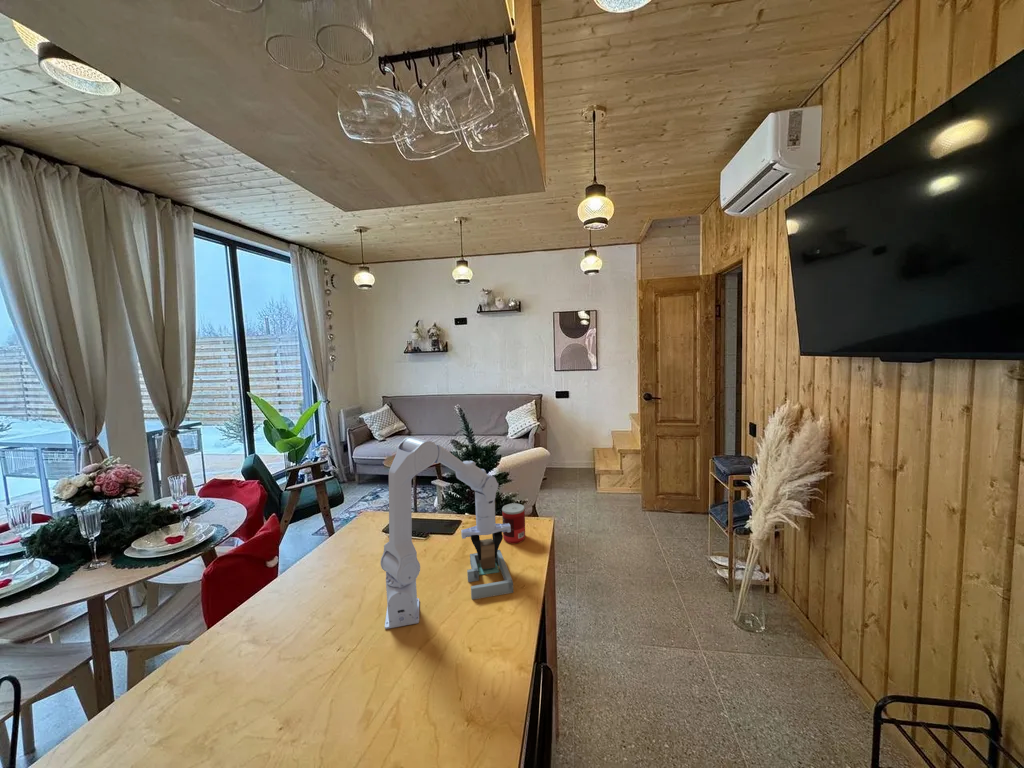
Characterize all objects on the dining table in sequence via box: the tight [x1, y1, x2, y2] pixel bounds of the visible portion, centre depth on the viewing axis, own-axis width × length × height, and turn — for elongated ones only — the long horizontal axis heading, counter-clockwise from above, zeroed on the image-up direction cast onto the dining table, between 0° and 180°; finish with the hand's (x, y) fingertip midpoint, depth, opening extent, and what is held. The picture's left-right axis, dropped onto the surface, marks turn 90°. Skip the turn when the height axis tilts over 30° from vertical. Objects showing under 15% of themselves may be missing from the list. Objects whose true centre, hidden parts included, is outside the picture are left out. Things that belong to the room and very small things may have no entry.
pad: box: [477, 561, 500, 576], centre depth 120 cm, size 6×6×1 cm
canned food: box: [501, 502, 526, 544], centre depth 138 cm, size 8×8×11 cm
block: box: [480, 538, 495, 569], centre depth 120 cm, size 4×4×7 cm
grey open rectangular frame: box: [467, 549, 514, 601], centre depth 115 cm, size 18×11×3 cm, turn 13°
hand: (487, 557), depth 120 cm, fingers closed on block, 4 cm apart
